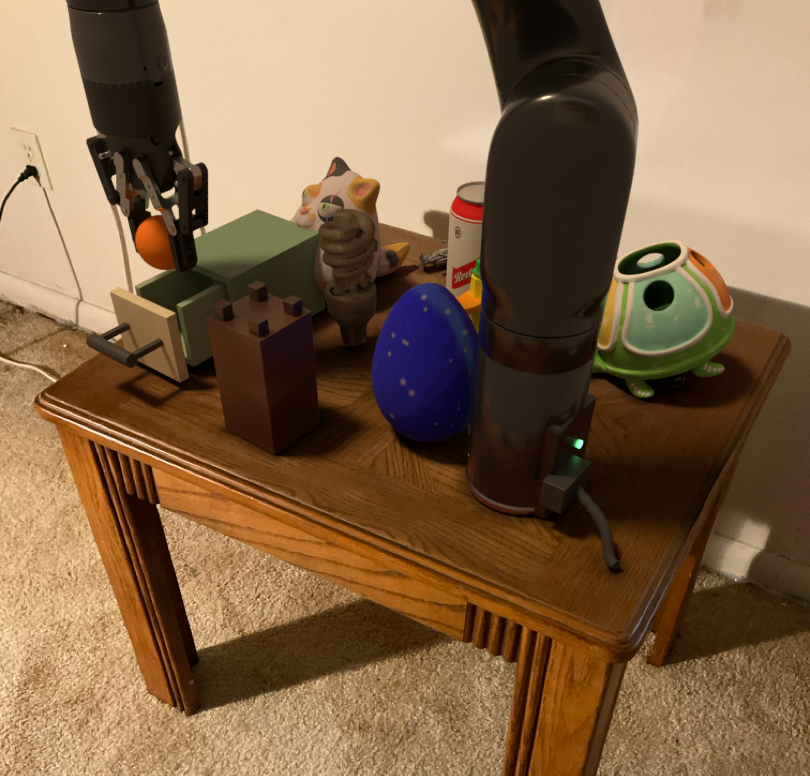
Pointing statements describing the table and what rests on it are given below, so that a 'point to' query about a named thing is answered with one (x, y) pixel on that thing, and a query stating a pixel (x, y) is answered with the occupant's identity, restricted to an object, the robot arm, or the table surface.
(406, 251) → the figurine
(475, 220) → the beer can
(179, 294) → the drawer
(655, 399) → the table surface
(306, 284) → the cabinet
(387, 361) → the ornament
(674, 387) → the toy car
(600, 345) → the turtle holder
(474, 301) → the toy figure
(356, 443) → the table surface
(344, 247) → the light bulb
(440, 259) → the angel statue
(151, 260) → the ball
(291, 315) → the stand
